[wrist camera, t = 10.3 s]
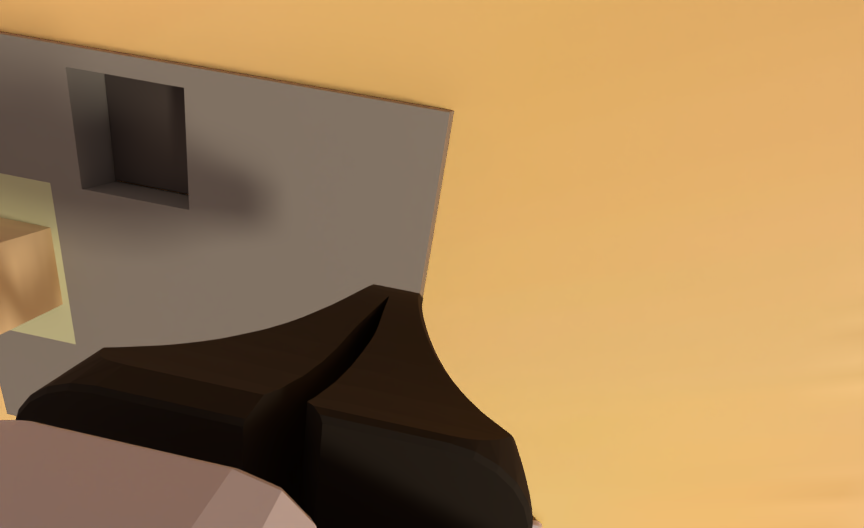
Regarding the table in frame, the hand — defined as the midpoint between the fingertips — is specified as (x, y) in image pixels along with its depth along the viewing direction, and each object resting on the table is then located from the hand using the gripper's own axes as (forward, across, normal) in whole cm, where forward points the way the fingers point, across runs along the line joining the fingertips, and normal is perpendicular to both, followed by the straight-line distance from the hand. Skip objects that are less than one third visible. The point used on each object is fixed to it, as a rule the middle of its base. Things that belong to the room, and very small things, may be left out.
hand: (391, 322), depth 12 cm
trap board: (+9, +11, +5) cm, 15 cm away
